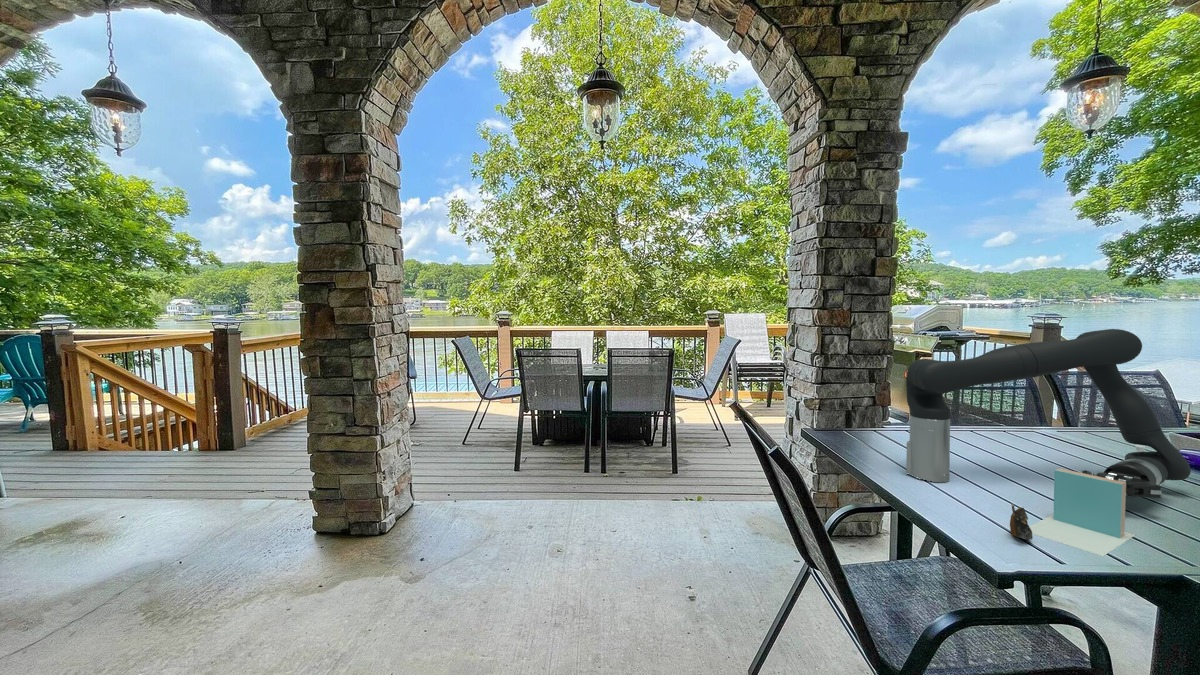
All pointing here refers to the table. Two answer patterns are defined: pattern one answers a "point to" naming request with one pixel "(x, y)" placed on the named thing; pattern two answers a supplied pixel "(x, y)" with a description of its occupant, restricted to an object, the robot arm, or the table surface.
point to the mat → (1077, 536)
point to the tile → (1090, 502)
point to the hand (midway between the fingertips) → (1104, 490)
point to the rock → (1020, 524)
